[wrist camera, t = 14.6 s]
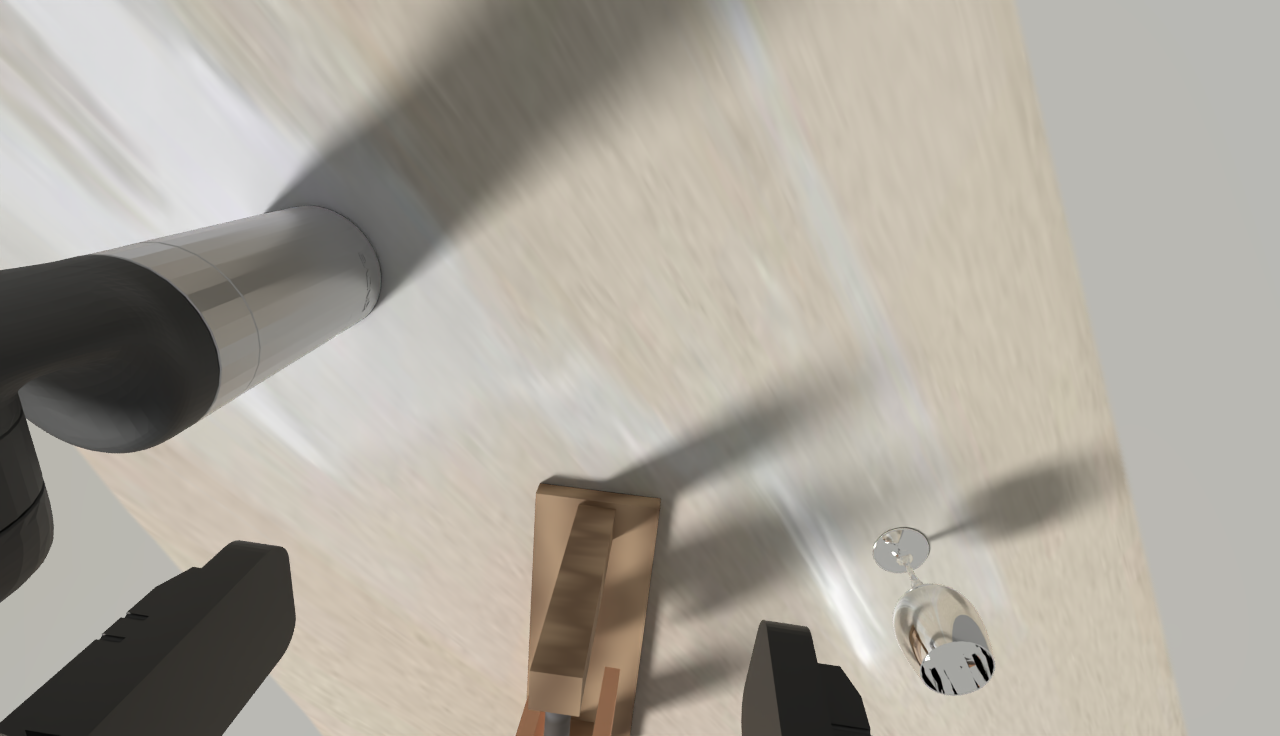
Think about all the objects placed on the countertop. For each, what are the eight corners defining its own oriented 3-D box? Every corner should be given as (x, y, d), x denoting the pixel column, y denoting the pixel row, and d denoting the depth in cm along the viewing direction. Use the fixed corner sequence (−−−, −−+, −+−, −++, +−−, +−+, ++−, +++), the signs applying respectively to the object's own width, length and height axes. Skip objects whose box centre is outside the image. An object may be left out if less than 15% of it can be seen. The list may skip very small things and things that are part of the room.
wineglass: (908, 508, 50) (969, 619, 39) (951, 553, 52) (1023, 672, 40) (849, 548, 52) (892, 665, 41) (893, 590, 53) (945, 715, 42)
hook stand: (528, 725, 63) (469, 945, 46) (540, 483, 52) (468, 655, 36) (628, 739, 62) (605, 967, 46) (660, 498, 52) (645, 680, 35)
